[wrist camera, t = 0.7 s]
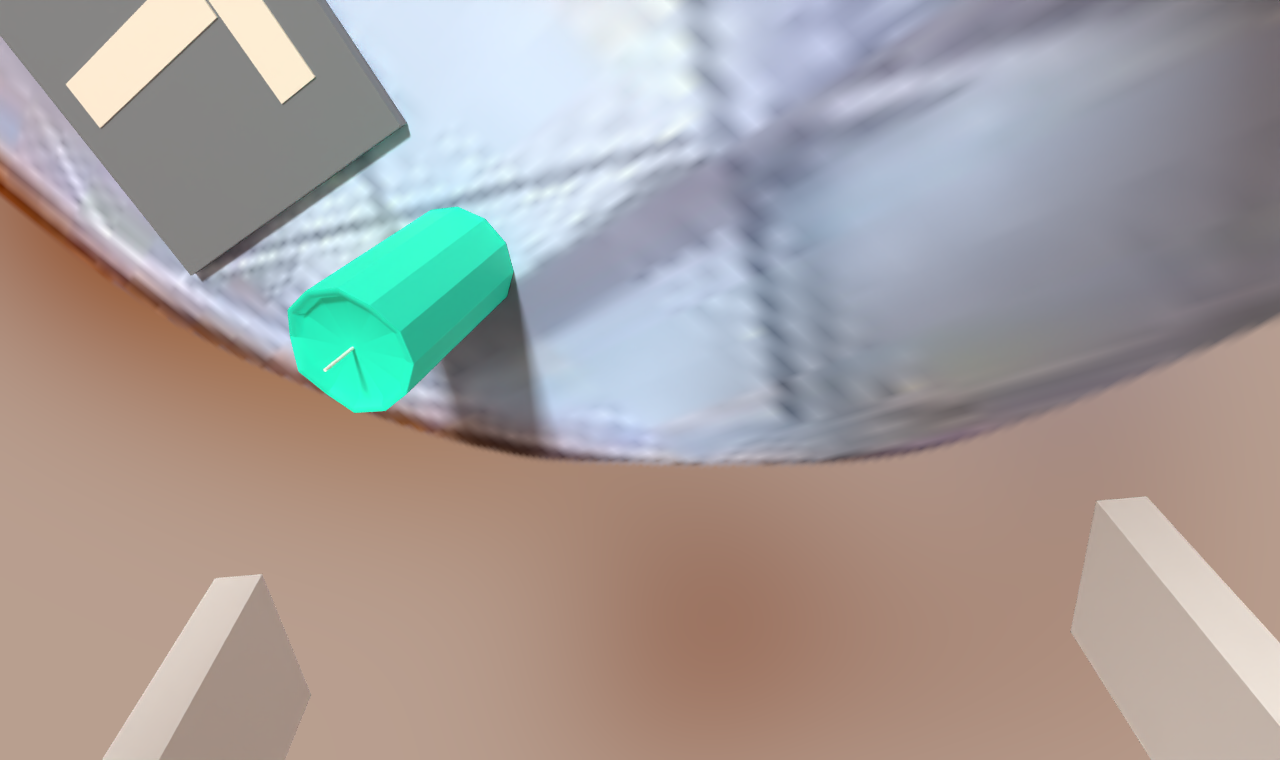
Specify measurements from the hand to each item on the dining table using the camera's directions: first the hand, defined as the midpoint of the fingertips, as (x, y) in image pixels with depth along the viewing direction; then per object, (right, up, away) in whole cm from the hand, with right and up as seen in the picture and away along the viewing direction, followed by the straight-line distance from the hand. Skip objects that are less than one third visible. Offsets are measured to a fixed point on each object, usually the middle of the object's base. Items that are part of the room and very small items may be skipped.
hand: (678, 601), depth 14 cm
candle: (-10, +10, +31) cm, 34 cm away
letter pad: (-24, +21, +29) cm, 43 cm away
